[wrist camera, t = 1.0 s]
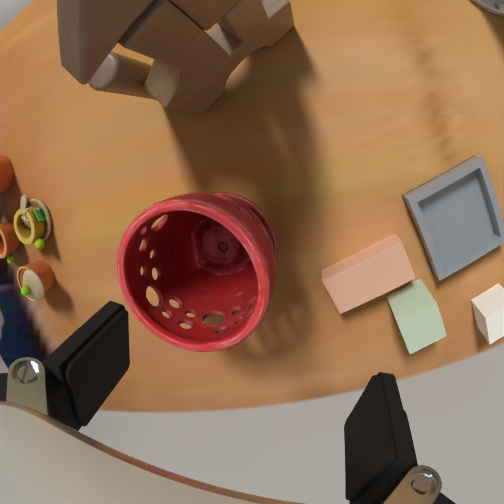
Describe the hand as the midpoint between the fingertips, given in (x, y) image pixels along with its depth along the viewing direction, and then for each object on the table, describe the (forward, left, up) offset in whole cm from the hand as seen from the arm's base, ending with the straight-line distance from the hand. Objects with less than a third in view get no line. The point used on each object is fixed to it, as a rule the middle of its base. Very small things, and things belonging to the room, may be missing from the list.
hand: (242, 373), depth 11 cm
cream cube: (-18, +22, -24) cm, 37 cm away
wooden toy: (-3, -18, -24) cm, 30 cm away
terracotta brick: (-5, +9, -24) cm, 26 cm away
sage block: (-8, +16, -24) cm, 30 cm away
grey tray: (-17, +9, -24) cm, 30 cm away
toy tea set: (+36, -21, -24) cm, 48 cm away
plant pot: (+7, -1, -24) cm, 25 cm away
